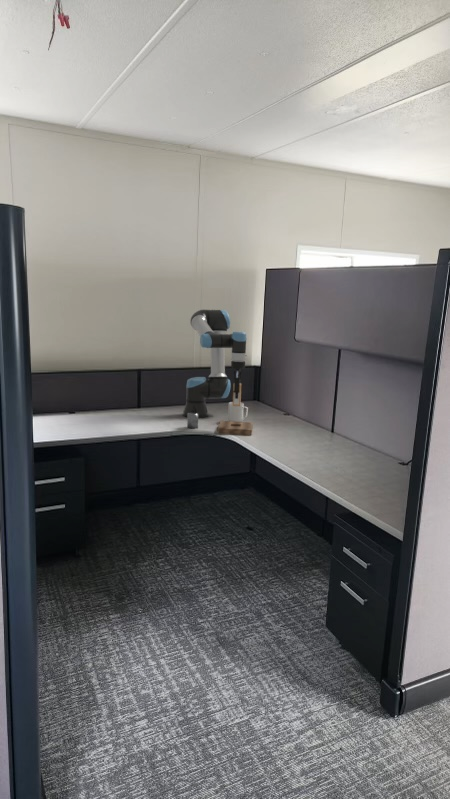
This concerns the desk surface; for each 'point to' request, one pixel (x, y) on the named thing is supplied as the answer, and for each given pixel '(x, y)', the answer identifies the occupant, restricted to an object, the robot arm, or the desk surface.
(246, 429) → the socket block
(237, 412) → the mug
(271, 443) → the desk surface
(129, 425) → the desk surface
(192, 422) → the grey rounded block
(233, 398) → the square peg
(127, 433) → the desk surface
